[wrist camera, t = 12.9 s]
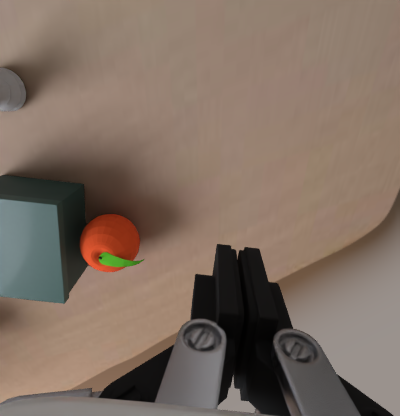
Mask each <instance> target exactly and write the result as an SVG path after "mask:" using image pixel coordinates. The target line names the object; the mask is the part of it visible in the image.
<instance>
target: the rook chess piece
mask: <svg viewBox="0 0 400 416" xmlns="http://www.w3.org/2000/svg"><path fill="white" fill-rule="evenodd" d="M25 99H26V90H25V87H24V84H23V82H22V81H21V79H20V77H19V76H18V75H16V74H15V73H14V72H13V71H11V70H9V69H6V68H0V110H1V111H16V110H17V109H19V108H21V107H22V106H23V104H24V102H25Z"/></svg>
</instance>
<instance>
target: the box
mask: <svg viewBox="0 0 400 416" xmlns="http://www.w3.org/2000/svg"><path fill="white" fill-rule="evenodd" d="M85 226H86V223H85V199H84V184H80V183H71V182H62V181H53V180H44V179H35V178H26V177H17V176H9V175H2V176H0V297H9V298H18V299H27V300H36V301H45V302H54V303H63V304H65V302H66V301H67V299H68V298H69V292H70V291H71V289H72V288H73V286H74V285H75V284H76V282H77V281H78V279H79V278H80V276H81V275H82V273H83V272H84V270H85V269H86V267H87V262H86V261H85V260H84V258H83V256H82V254H81V251H80V236H81V234H82V232H83V230H84V228H85Z"/></svg>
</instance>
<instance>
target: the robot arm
mask: <svg viewBox="0 0 400 416" xmlns="http://www.w3.org/2000/svg"><path fill="white" fill-rule="evenodd" d="M233 375H234V386H235V388H237V389H240V394H241V400H242V401H249V402H250V403H251V404H252V405H253V406H254V407H255V408H256V409H255V413H246V412H237V411H228V410H218V409H217V407H218V405H219V404H220V403H221V402H222V401H223V400H225V399H226V398H227V394H228V389H229V388H230V386H231V382H232V377H233ZM0 416H393V415H392V414H391V413H390V412H388V411H387V410H386V409H384V408H383V407H381V406H380V405H379V404H377V403H376V402H374V401H373V400H372V399H370V398H369V397H367V396H366V395H365V394H363V393H362V392H361V391H359V390H358V389H357V388H355V387H354V386H352V385H351V384H350V383H348V382H347V381H346V380H344V379H343V378H341V377H340V376H339V375H337V374H336V372H335V370H334V369H333V367H332V365H331V364H330V362H329V360H328V358H327V357H326V355H325V354H324V352H323V350H322V348H321V347H320V345H319V344H318V343H317V341H316V340H315V339H313V338H312V337H311V336H310V335H308V334H306V333H304V332H302V331H300V330H297V329H293V327H292V324H291V321H290V318H289V315H288V311H287V308H286V305H285V303H284V299H283V296H282V293H281V290H280V287H279V285H278V284H277V283H272V282H268V278H267V275H266V271H265V268H264V264H263V261H262V257H261V253H260V250H259V249H257V248H248V247H245V248H244V251H243V250H240V251H239V254H238V260H237V254H236V250H234V249H231V246H230V245H221V244H217V248H216V254H215V261H214V268H213V275H212V276H209V275H200V274H195V282H194V290H193V299H192V309H191V319H190V321H188V322H186V323H185V324H184V325H182V327H181V328H180V330H179V333H178V336H177V339H176V342H175V344H174V345H173V346H171V347H169V348H168V349H166V350H164V351H163V352H161V353H160V354H158V355H156V356H155V357H153V358H151V359H150V360H148V361H147V362H145V363H143V364H142V365H140V366H139V367H137V368H135V369H133V370H132V371H130V372H129V373H127V374H125V375H124V376H122V377H120V378H119V379H117V380H116V381H114V382H112V383H111V384H110V385H108V386H107V387H106V388H105V389H104V391H99V392H92V388H87V389H78V390H69V391H60V392H51V393H41V394H32V395H23V396H17V397H14V398H10V399H7V400H6V401H4V402H2V403H0Z"/></svg>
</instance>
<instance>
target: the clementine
mask: <svg viewBox="0 0 400 416" xmlns="http://www.w3.org/2000/svg"><path fill="white" fill-rule="evenodd" d="M139 244H140V239H139V234H138V232H137V230H136V227H135V226H134V225H133V223H132V222H131V221H129V220H128V219H127V218H125V217H123V216H121V215H116V214H104V215H101V216H98V217H96V218H95V219H93V220H92V221H90V222H89V223H88V224H87V225H86V226H85V228H84V230H83V232H82V234H81V236H80V251H81V254H82V256H83V258H84V260H85V261H86V262H87V263H88V264H89V265H90V266H91V267H93V268H94V269H97V270H99V271H104V272H115V271H119V270H121V269H123V268H125V267H127V266H133V265H136V264H139V263H140V262H142V261H143V260H144V259H143V260H141V261H133V260H134V259H135V257H136V255H137V253H138V250H139Z"/></svg>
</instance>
